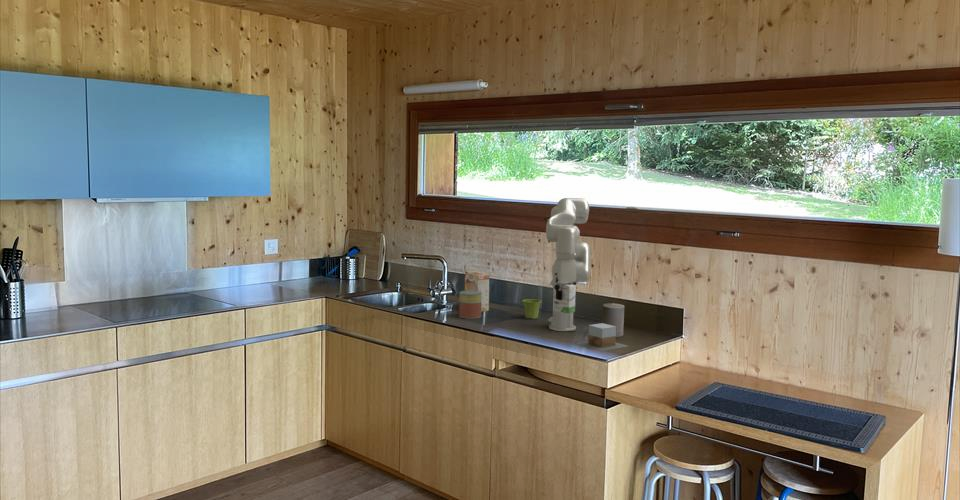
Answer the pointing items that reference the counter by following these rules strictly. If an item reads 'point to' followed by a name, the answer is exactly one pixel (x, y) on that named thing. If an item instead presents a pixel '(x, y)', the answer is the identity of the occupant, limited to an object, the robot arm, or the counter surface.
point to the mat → (585, 343)
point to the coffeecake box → (478, 286)
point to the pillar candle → (614, 316)
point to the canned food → (470, 304)
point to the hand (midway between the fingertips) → (564, 298)
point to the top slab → (602, 330)
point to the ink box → (565, 299)
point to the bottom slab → (601, 341)
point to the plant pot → (531, 308)
